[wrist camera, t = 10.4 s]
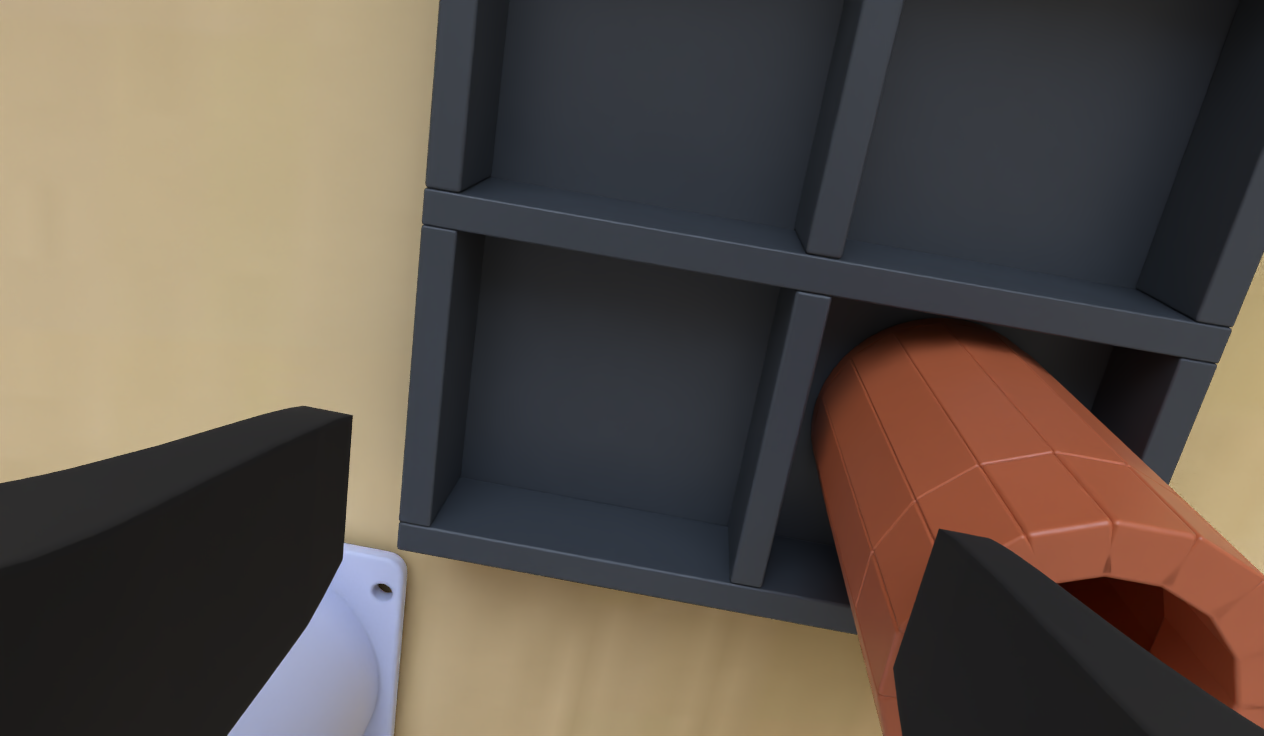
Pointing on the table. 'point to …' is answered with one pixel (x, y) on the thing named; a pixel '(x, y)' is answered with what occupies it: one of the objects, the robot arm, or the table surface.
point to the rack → (797, 256)
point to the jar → (1018, 505)
